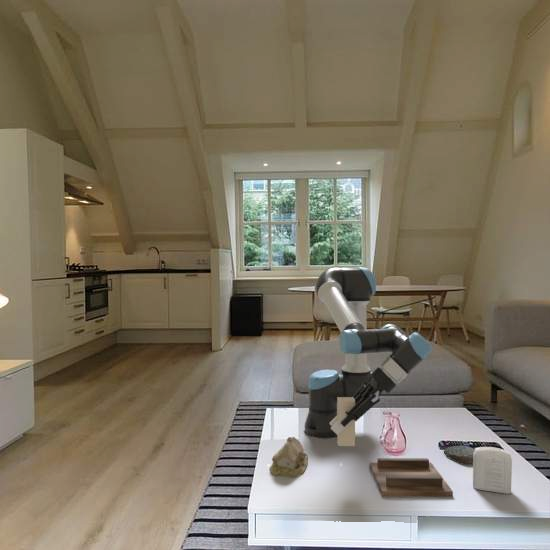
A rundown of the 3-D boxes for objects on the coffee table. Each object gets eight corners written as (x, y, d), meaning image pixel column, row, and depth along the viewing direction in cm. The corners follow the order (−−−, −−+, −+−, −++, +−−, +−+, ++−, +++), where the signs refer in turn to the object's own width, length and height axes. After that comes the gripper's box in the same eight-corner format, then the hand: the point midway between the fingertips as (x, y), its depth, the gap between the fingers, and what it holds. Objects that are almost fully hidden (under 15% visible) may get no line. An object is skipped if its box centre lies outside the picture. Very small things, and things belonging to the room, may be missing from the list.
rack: (369, 467, 143) (369, 454, 143) (431, 467, 143) (431, 454, 143) (382, 496, 125) (382, 482, 125) (452, 496, 125) (452, 482, 125)
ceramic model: (297, 481, 135) (297, 449, 134) (264, 473, 139) (264, 442, 139) (313, 462, 147) (313, 432, 147) (283, 455, 152) (283, 427, 152)
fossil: (471, 469, 142) (471, 457, 142) (437, 454, 153) (437, 443, 153) (489, 461, 147) (489, 450, 147) (455, 448, 158) (455, 437, 158)
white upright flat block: (509, 488, 129) (510, 447, 129) (512, 495, 125) (513, 453, 125) (471, 483, 132) (472, 442, 132) (473, 490, 128) (474, 448, 128)
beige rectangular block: (337, 441, 136) (337, 397, 135) (353, 441, 136) (353, 397, 135) (338, 446, 133) (338, 400, 132) (354, 446, 133) (355, 400, 132)
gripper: (404, 392, 125) (345, 449, 126) (390, 376, 141) (338, 427, 142) (385, 373, 125) (327, 430, 126) (373, 360, 141) (322, 411, 142)
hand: (333, 428), depth 134 cm, fingers closed on beige rectangular block, 3 cm apart
